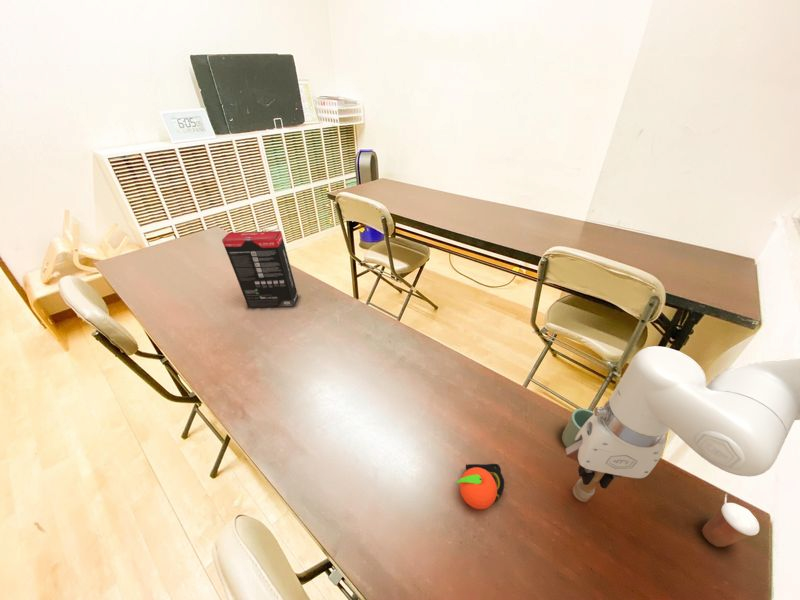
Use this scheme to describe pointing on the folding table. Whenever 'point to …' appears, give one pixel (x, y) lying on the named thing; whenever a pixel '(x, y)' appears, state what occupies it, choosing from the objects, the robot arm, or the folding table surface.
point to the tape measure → (496, 474)
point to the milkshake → (730, 525)
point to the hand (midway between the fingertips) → (592, 477)
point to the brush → (586, 487)
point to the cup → (575, 425)
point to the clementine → (478, 488)
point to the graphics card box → (262, 268)
